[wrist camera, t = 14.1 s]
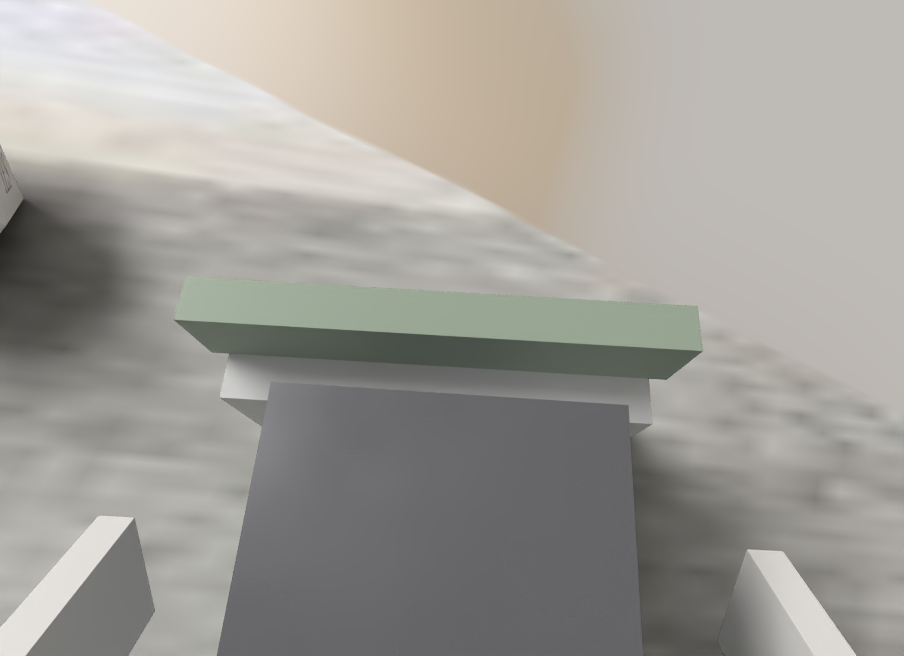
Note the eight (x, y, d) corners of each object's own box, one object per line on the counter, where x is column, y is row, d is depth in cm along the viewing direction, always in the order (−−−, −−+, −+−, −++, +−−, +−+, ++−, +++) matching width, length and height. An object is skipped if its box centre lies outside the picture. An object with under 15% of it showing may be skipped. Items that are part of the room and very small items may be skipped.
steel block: (349, 656, 19) (181, 835, 7) (370, 478, 21) (271, 382, 9) (522, 669, 19) (655, 873, 7) (525, 488, 21) (628, 405, 9)
